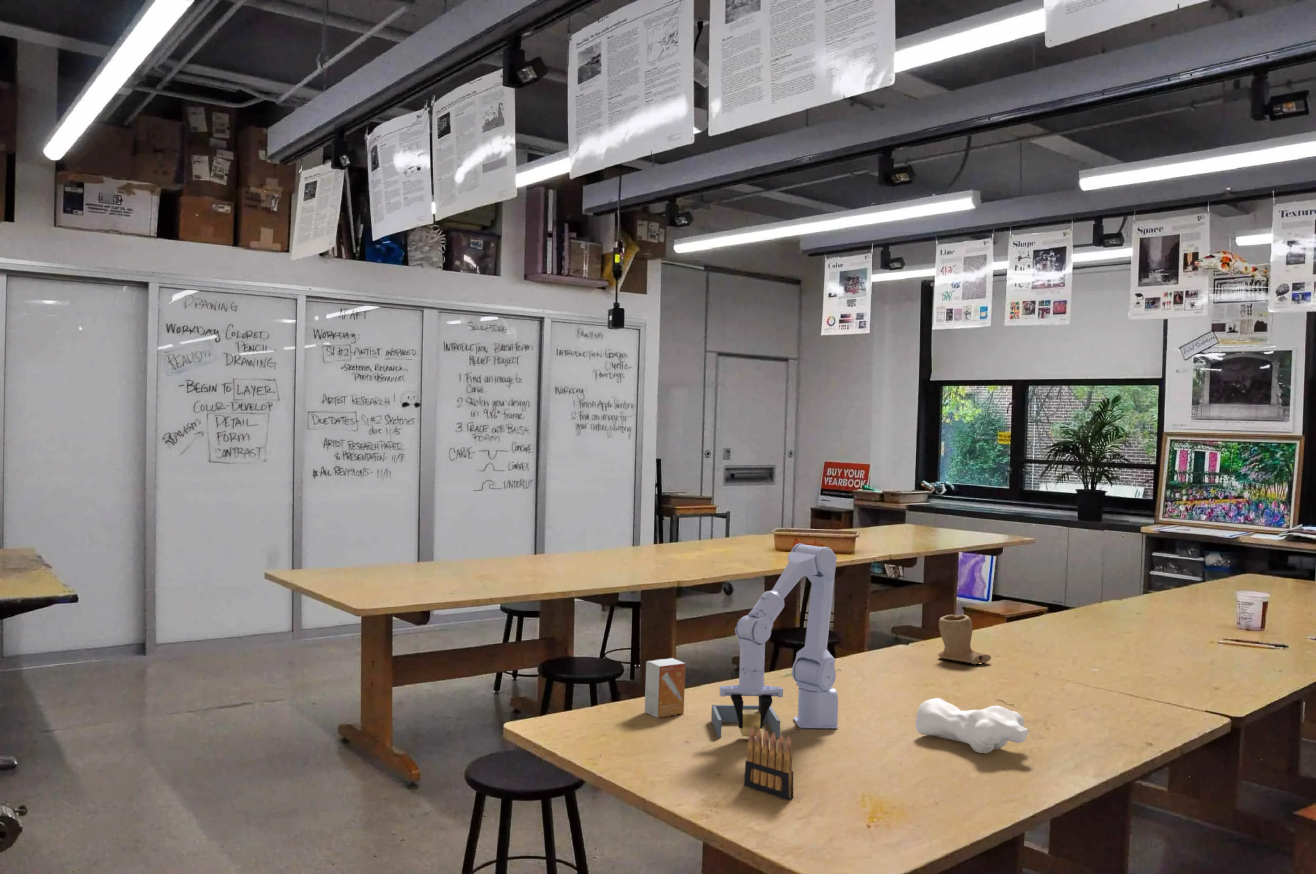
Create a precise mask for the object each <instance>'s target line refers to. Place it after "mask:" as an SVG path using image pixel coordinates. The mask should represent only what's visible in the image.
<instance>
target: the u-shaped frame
mask: <svg viewBox="0 0 1316 874" xmlns="http://www.w3.org/2000/svg"><path fill="white" fill-rule="evenodd" d="M743 710H758V711H759V704H743ZM710 721H711V725H712V727H713V728H714V731H715V733H716V737H717V736H718V737H717V738H722V728H723V727H722V726H723V725H722V724H723V723H738V719H737V714H736V710H735V707H734V704H711V720H710ZM764 723H767V724H768V726H769V728H770V729H771V731H772V733H773V732H774V733H775V737H776V738H777V739H779V736H780V734H781V720H780V718H779V716H778V715H777V713H776V712H775V710H774V708H773V707H772V705H771V706H770V707H769V709H768V711H767V714H766V716H765V719H764Z"/></svg>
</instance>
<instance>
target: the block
mask: <svg viewBox="0 0 1316 874" xmlns="http://www.w3.org/2000/svg"><path fill="white" fill-rule="evenodd" d="M742 718H743V727H742V728H739V731H740V734H741V736H742V737H749V732H750V728H751V726H753V729H754V735H755V737H756V734H757V730H758V728H760V719H761V715H760V713H759V711H758V710H743V713H742Z"/></svg>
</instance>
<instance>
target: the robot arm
mask: <svg viewBox="0 0 1316 874" xmlns="http://www.w3.org/2000/svg"><path fill="white" fill-rule="evenodd" d="M837 560H838V557H837V555H836V554H835V553H834V551H833V550H832V548H830V547H828V546H815V545H809V544H804V543H797V544H795V545H794V546H793V547H792V549H791V551H790V552H789V553H788V555H787V562H788V563H787V564H786V566H785V567H784V569H783V571H782V573H781V574H780V576H779V578H778V580H777V581H776V582H775V585H774V586H773V588H771V589H772V590H766V591H764V592H762V593H761V595H760V598H758V600H757V602H756V603H755V605H754V606H753V607H752V609H751V610H750V611H749V612H748V614H747V615H743V616H742V617H741V618H740V619H738V621H737V623H736V627H734V633H735V636H736V637H737V640H738V642H737V643H738V644H737V645H738V646H739V670H738V671H739V672H738V673H739V674H738V675H739V676H738V677H739V680H738V684H735V685H733V684H732V685H719V696H720V697H721V698H724V697H726V696H727V697H728V696H729V697H730V699H731V701H732V705H734V707H735V710H736V714H737V719H738V722H737V726H738V728H739V729H740V728H742V727H743V718H742V713H743V705H744V700H743V697H758V705H759V713H760V715H761V719H760V730H761V729H763V727H764V723H765V722H764V719H765V716H766V714H767V711H768V709H769V707H770V706H771V707H772V704H773V698H772V697H778V698H783V697H784V688H783V687H782V686H772V685H771V686H770V685H765V658H766V655H765V653H766V652H765V651H766V643H767V642H768V640H769V639H770V637H771V635H772V630H773V627H774V622H775V621H776V619H777V617H778V616H779V615H780V614H781V612H782V611H783V609H784V608H785V605H786V604H785V598H786V597H787V596H788V594H789V593H791V591H792V590H793V588H794V587H795V586H796V585H797V584H798V583H799V582H800V581H801V579H802V578H804V577H806V578H807V579H808V581H809V582H810V583H811V587H810V597H809V606H808V615H807V625H806V630H805V631H806V633H805V641H804V647H802V648H801V649H799V650H798V651H797V652H796V654H795V655H796V656H795V660H794V662H793V664H792V669H791V675H792V678H793V680H794V681H795V682H796V684H795V685H796V686H797V687H798V692H797V693H798V695H797V697H798V699H797V700H798V701H797V716H793V720H794V721H795V723H796V725H797V726H798V727H799V728H800V729H838V728H839V725H838V722H839V721H838V718H839V711H838V710H839V697H838V692H837V689H836V688H834V687H833V686H834V684H835V682H836V677H837V673H836V672H837V671H836V668H835V667H836V665H835V663H836V662H835V661H836V659H835V657H834V656H833V655H832V654H831V653H830V651H829V650H828V644H829V643H828V642H829V635H830V634H829V631H830V624H831V614H832V605H833V595H834V586H835V575H836V567H837Z"/></svg>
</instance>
